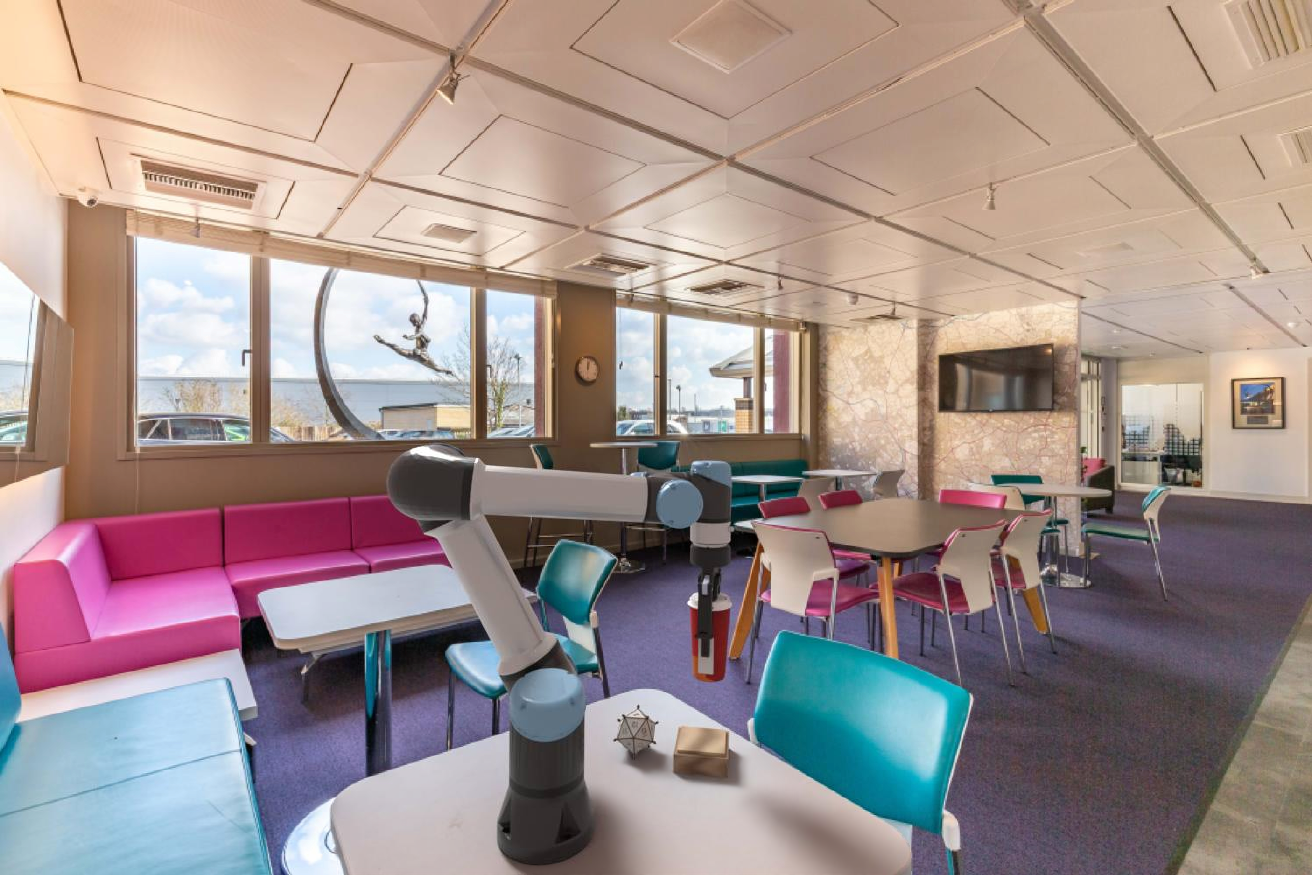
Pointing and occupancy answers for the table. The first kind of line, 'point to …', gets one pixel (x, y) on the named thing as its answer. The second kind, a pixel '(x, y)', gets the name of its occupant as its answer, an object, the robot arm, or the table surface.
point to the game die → (636, 731)
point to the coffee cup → (719, 633)
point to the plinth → (701, 751)
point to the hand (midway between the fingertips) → (708, 664)
